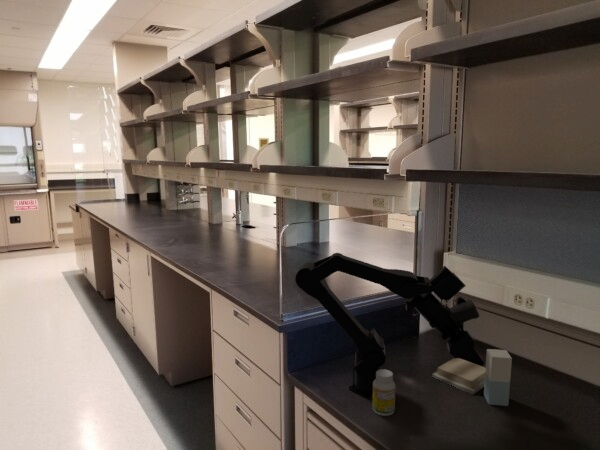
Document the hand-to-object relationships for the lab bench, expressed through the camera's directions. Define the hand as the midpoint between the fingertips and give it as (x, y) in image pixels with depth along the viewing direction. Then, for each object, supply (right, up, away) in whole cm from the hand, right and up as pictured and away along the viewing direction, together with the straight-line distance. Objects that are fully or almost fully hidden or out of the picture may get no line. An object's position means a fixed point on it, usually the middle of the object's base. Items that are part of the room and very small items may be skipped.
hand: (478, 356), depth 108 cm
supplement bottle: (-25, -12, -3) cm, 28 cm away
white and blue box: (+5, -11, +1) cm, 12 cm away
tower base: (+1, -10, +12) cm, 15 cm away
